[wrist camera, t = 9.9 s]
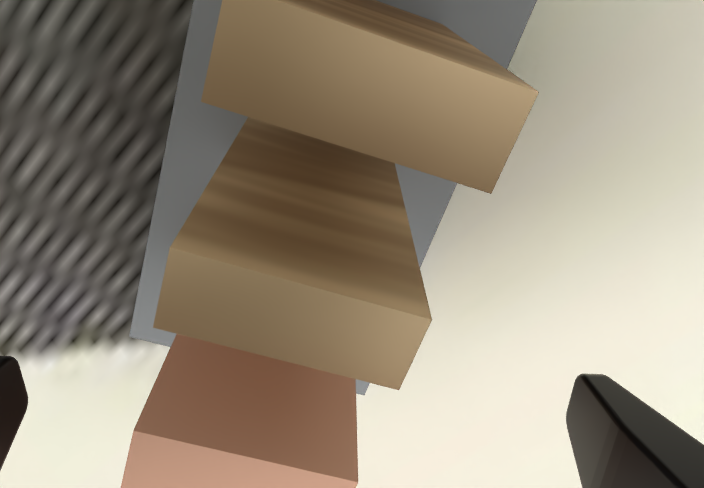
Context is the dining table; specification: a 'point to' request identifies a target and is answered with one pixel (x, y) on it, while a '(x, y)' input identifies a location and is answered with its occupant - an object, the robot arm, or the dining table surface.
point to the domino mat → (223, 126)
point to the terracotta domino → (243, 423)
